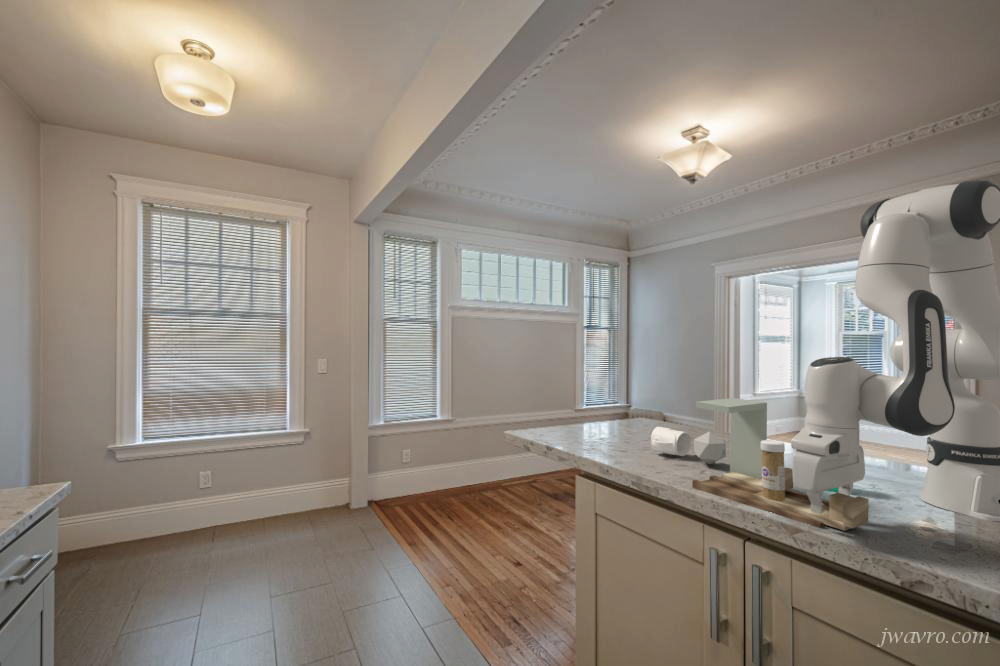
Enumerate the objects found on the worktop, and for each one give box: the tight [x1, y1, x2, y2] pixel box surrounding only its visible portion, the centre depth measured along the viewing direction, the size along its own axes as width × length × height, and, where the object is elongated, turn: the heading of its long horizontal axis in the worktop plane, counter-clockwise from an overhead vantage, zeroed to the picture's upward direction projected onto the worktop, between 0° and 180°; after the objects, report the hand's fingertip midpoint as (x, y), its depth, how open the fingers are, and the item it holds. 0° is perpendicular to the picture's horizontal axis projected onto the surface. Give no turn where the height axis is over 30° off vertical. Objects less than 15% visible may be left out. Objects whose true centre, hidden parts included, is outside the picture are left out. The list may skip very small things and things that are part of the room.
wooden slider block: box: [721, 467, 795, 491], centre depth 110 cm, size 15×6×6 cm, turn 29°
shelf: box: [695, 397, 768, 480], centre depth 113 cm, size 9×15×22 cm, turn 119°
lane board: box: [691, 471, 829, 529], centre depth 104 cm, size 29×15×2 cm, turn 29°
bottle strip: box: [752, 492, 870, 532], centre depth 93 cm, size 20×6×6 cm, turn 29°
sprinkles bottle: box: [761, 439, 786, 501], centre depth 99 cm, size 5×5×13 cm
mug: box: [650, 426, 693, 457], centre depth 144 cm, size 12×9×8 cm
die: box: [693, 431, 727, 466], centre depth 132 cm, size 8×9×10 cm
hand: (830, 508), depth 89 cm, fingers open, 8 cm apart
